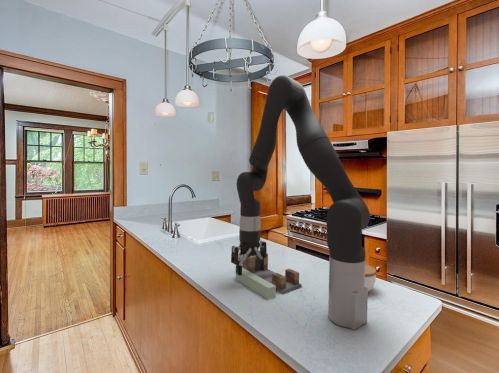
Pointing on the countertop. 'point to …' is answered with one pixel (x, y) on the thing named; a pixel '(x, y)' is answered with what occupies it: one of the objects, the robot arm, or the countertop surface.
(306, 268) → the countertop surface
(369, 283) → the lidded jar
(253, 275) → the slat
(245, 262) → the holder
